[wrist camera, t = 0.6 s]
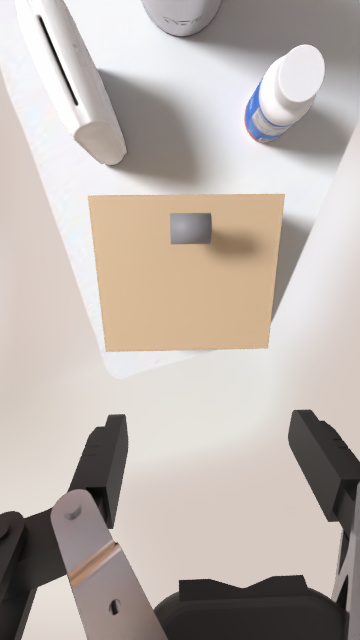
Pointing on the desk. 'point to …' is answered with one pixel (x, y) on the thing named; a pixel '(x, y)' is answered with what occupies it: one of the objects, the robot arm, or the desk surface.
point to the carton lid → (186, 269)
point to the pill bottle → (284, 93)
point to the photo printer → (71, 78)
